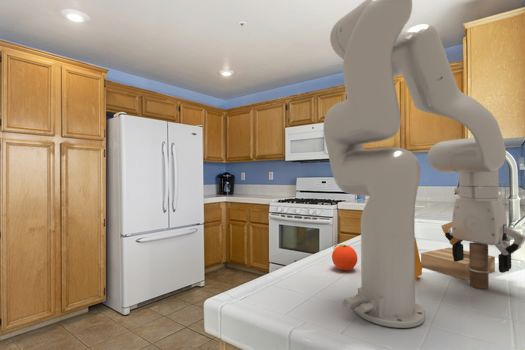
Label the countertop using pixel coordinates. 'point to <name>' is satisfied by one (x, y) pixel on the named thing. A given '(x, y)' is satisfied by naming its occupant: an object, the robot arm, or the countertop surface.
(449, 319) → the countertop surface
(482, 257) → the peg
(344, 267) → the clementine
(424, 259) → the board
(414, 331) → the countertop surface
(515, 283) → the countertop surface
